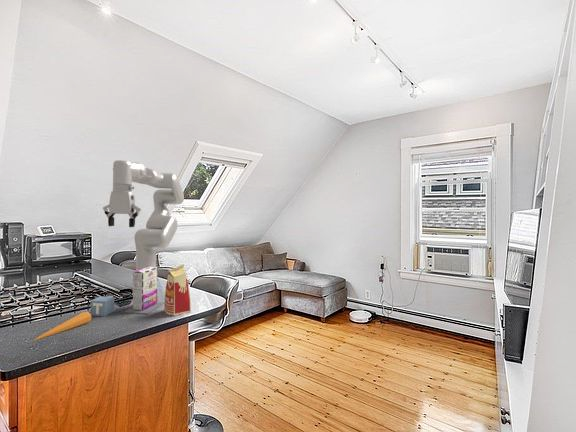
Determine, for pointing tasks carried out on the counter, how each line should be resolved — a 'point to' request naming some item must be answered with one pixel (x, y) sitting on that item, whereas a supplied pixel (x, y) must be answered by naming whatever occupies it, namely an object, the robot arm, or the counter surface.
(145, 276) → the candy bar box
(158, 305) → the mat
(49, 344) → the counter surface
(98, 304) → the letter cube
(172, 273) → the milk carton
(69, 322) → the carrot
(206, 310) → the counter surface
